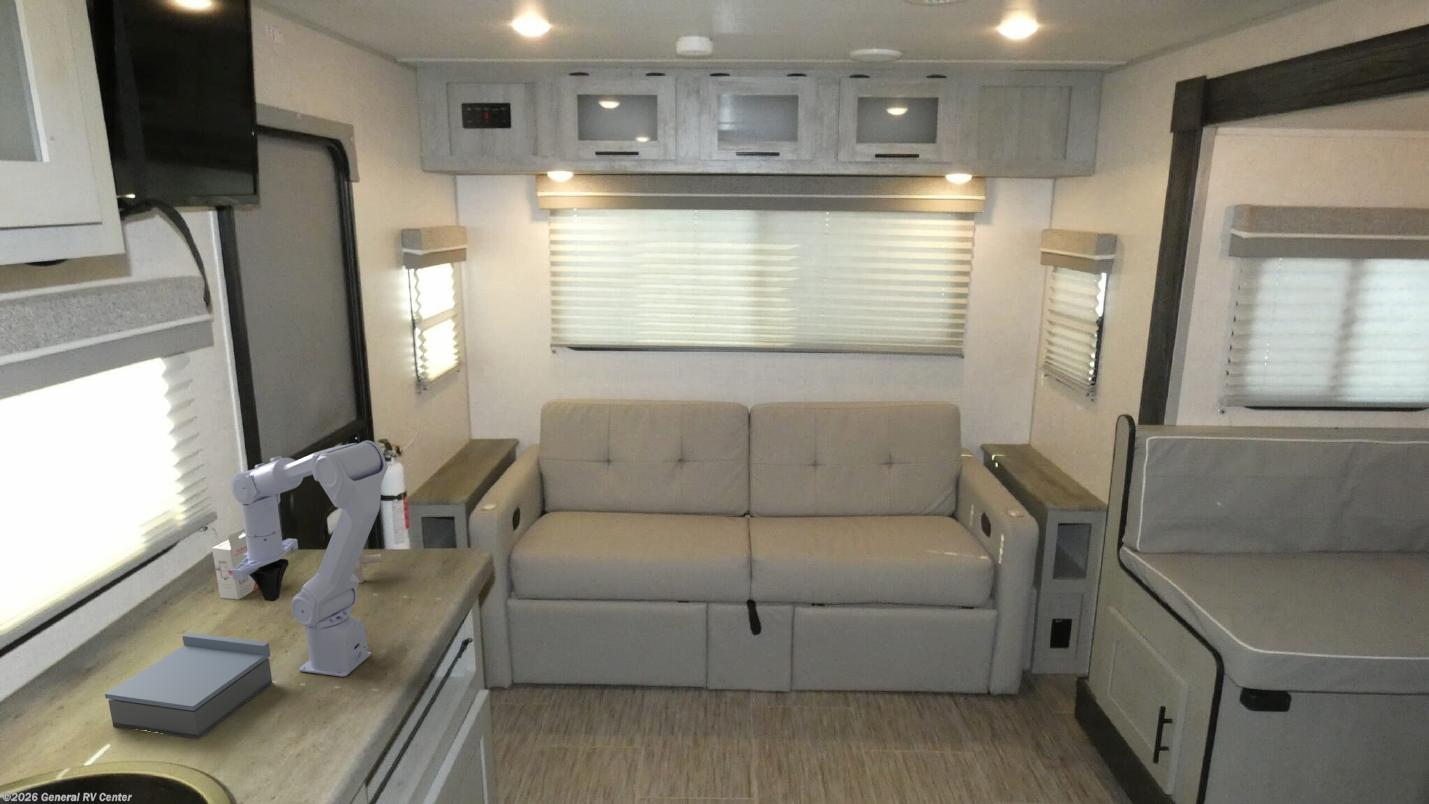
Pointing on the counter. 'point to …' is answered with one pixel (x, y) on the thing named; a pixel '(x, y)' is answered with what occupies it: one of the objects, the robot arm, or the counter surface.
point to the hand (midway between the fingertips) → (271, 599)
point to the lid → (192, 672)
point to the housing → (199, 719)
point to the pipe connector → (365, 560)
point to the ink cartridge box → (232, 567)
